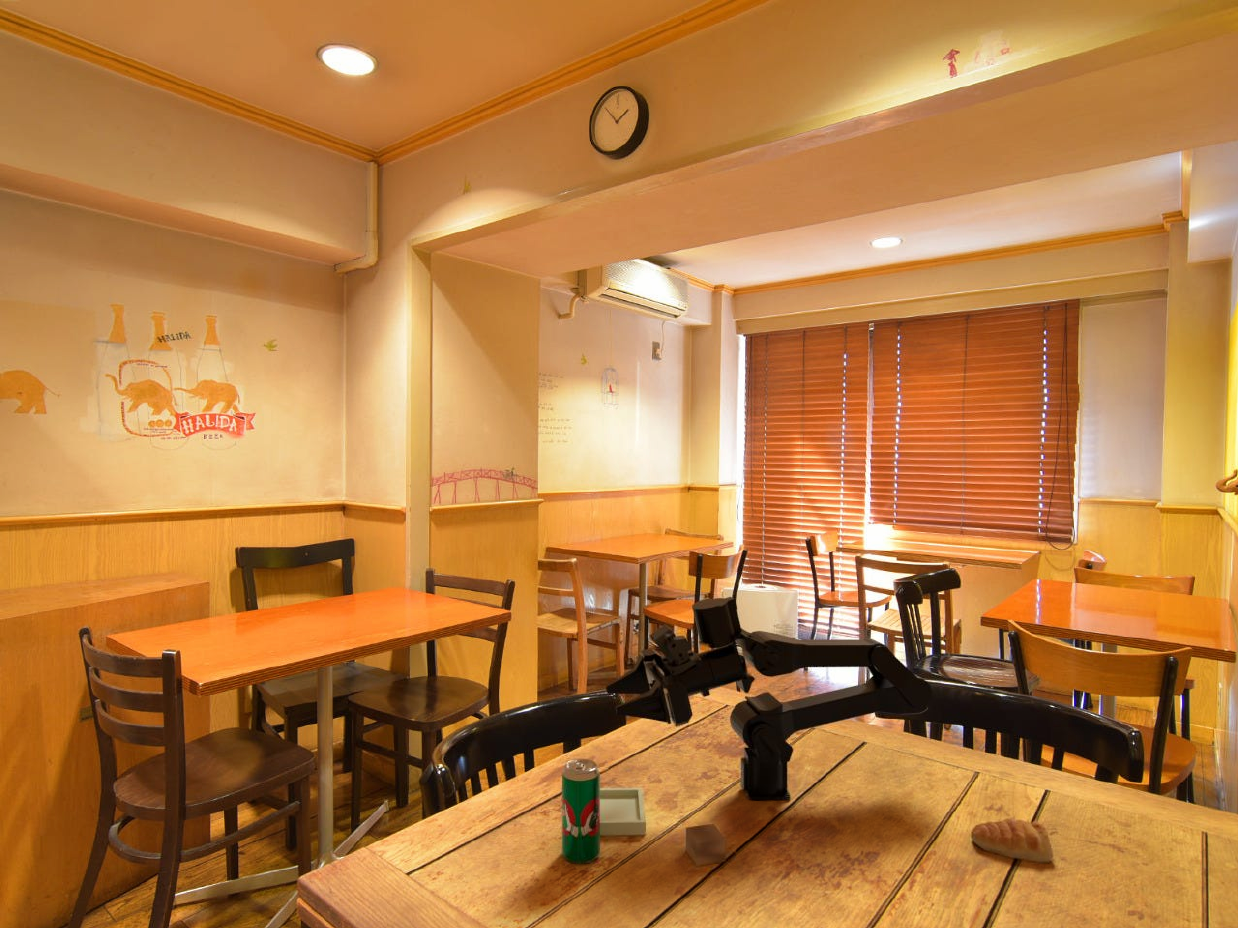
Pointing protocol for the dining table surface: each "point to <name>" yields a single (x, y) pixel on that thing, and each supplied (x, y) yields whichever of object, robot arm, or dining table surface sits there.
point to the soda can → (580, 811)
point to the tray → (622, 811)
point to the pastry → (1014, 839)
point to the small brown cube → (705, 844)
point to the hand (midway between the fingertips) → (611, 699)
